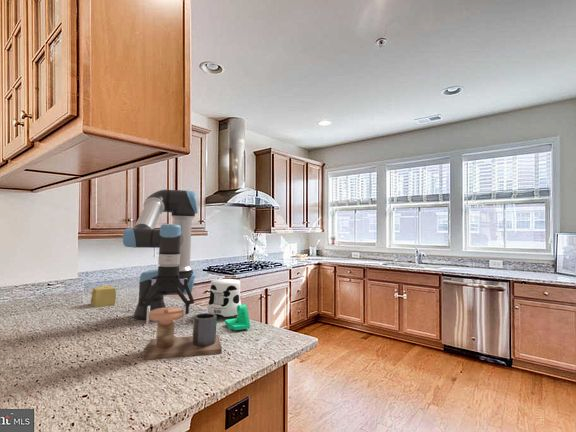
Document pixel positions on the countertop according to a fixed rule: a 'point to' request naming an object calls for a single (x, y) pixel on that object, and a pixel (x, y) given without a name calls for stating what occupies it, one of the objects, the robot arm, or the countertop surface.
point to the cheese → (103, 296)
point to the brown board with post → (176, 345)
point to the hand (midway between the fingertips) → (166, 323)
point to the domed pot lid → (166, 315)
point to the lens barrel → (204, 329)
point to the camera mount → (239, 319)
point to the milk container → (224, 297)
